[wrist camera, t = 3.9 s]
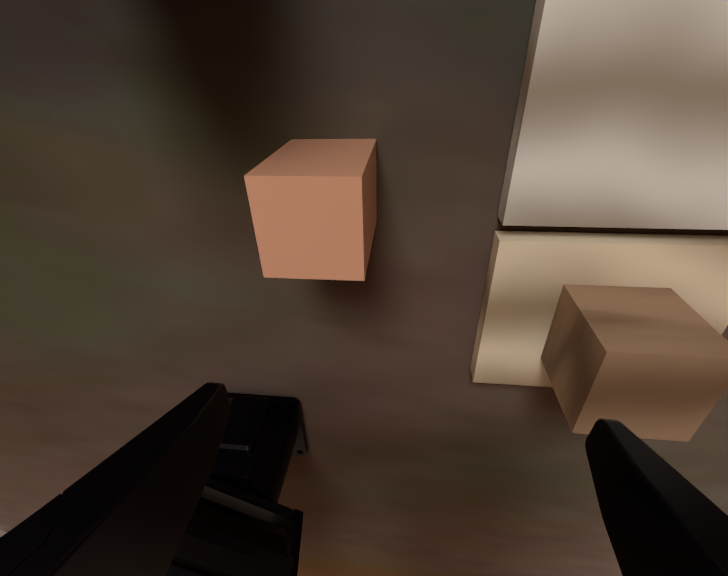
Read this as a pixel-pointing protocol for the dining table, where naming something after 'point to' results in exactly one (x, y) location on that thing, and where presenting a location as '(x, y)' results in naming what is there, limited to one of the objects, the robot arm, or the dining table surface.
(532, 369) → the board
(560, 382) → the walnut block
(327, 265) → the salmon orange block
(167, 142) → the dining table surface
